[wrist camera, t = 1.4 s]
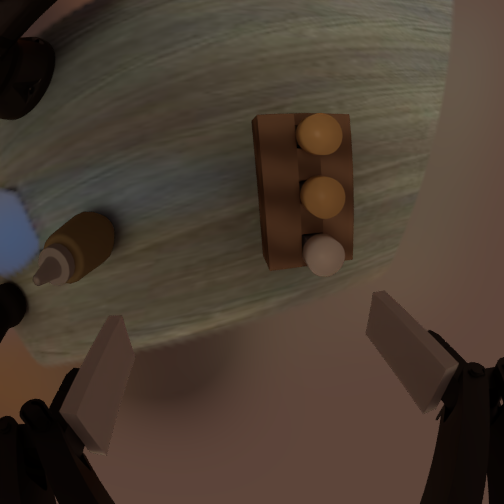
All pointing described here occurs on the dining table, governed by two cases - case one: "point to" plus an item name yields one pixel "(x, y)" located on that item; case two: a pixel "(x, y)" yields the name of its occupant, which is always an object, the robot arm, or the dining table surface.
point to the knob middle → (322, 196)
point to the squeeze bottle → (75, 249)
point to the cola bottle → (10, 307)
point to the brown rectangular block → (297, 188)
